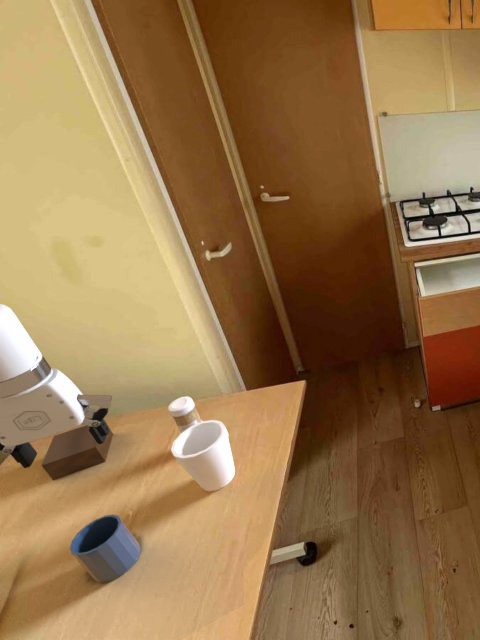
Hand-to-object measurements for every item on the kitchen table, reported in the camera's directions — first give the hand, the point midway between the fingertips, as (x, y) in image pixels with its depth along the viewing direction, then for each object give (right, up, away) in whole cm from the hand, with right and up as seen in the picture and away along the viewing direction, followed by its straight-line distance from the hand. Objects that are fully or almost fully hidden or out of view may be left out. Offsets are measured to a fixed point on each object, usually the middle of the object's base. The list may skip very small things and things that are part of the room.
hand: (68, 449), depth 75 cm
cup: (+5, -23, +4) cm, 24 cm away
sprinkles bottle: (+3, -11, +27) cm, 30 cm away
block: (-22, -13, +24) cm, 35 cm away
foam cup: (+13, -15, +19) cm, 28 cm away
